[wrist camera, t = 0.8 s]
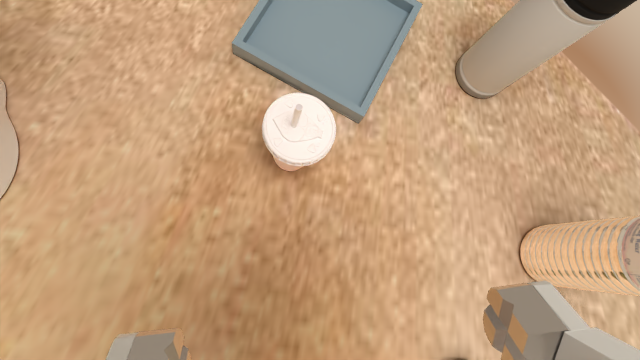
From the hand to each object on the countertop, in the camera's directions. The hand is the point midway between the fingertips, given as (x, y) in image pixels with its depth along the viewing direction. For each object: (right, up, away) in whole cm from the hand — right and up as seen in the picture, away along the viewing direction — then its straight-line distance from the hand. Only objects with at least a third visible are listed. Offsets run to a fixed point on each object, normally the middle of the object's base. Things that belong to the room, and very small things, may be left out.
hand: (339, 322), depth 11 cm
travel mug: (+19, +17, +38) cm, 46 cm away
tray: (0, +21, +36) cm, 42 cm away
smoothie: (-4, +6, +33) cm, 34 cm away
